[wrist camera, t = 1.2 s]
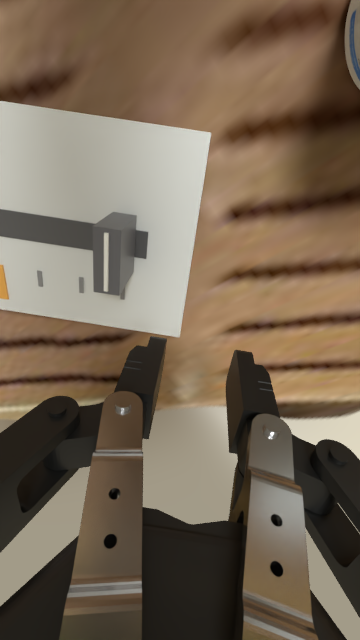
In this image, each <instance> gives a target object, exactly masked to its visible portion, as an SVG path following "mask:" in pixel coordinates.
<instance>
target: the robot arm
mask: <svg viewBox="0 0 360 640" xmlns="http://www.w3.org/2000/svg"><path fill="white" fill-rule="evenodd" d="M166 342H167V339H165V338H159V337H152V336H151V337H150V340H149V343H148V346H147V347H144V346H136V347H135V348H134V349H132V350H131V351H130V352H129V355H128V357H127V361H126V363H125V365H124V368H123V370H122V373H121V375H120V378H119V381H118V383H117V386H116V388H115V391H114V393H112V394H111V395H109V396H108V397H107V398H106V399H105V401H104V402H102V403H100V404H96V405H90V406H80V407H79V405H78V403H77V402H76V401H75V400H74V399H72V398H70V397H67V396H56V397H52V398H49V399H47V400H45V401H43V402H42V403H41V404H39V405H38V406H37V407H35V408H34V409H32V410H31V411H30V412H28V413H27V414H26V415H24V416H23V417H22V418H20V419H19V420H17V421H16V422H15V423H13V424H12V425H11V426H9V427H8V428H7V429H5V430H4V431H3V432H1V433H0V552H1V551H2V550H3V549H4V548H5V547H6V546H7V545H8V544H9V543H10V542H11V541H12V540H13V538H14V537H15V536H16V535H17V534H18V533H19V532H20V531H21V530H22V529H23V528H24V527H25V526H26V525H27V524H28V523H29V521H30V520H31V519H32V518H33V517H34V516H35V515H36V514H37V513H38V512H39V511H40V510H41V509H42V508H43V507H44V505H45V504H46V503H47V502H48V501H49V500H50V499H51V498H52V497H53V496H54V495H55V494H56V493H57V492H58V491H59V490H60V489H61V487H62V486H63V485H64V484H65V483H66V482H67V481H68V480H69V479H70V478H71V477H72V476H73V475H74V474H75V472H76V471H77V470H78V469H79V468H82V467H89V466H91V467H90V473H89V479H88V485H87V491H86V496H85V503H84V508H83V514H82V520H81V526H80V532H79V535H78V536H77V537H76V538H75V539H74V540H73V541H72V542H71V543H70V544H69V545H68V546H66V547H65V548H64V549H63V550H62V551H61V552H60V553H59V554H58V555H56V556H55V557H54V558H53V559H52V560H51V561H50V562H49V563H48V564H47V565H46V566H44V567H43V568H42V569H41V570H40V571H39V572H38V573H37V574H36V575H34V576H33V577H32V578H31V579H30V580H29V581H28V582H27V583H26V584H25V585H24V586H22V587H21V588H20V589H19V590H18V591H17V592H16V593H15V594H14V595H12V596H11V597H10V598H9V599H8V600H7V601H6V602H5V603H4V604H3V605H2V606H0V640H347V639H346V638H345V637H344V635H343V634H342V633H341V631H340V630H339V628H338V627H337V626H336V624H335V623H334V622H333V620H332V619H331V617H330V616H329V615H328V613H327V612H326V611H325V609H324V608H323V606H322V605H321V604H320V602H319V601H318V600H317V598H316V597H315V595H314V594H313V593H312V591H311V590H310V584H309V571H308V559H307V545H306V534H305V533H306V532H305V528H306V529H307V531H308V533H309V534H310V536H311V538H312V539H313V541H314V543H315V544H316V546H317V548H318V549H319V551H320V552H321V554H322V556H323V557H324V559H325V561H326V562H327V564H328V566H329V567H330V569H331V571H332V572H333V574H334V576H335V577H336V579H337V581H338V582H339V584H340V586H341V587H342V589H343V591H344V592H345V594H346V596H347V597H348V599H349V601H350V602H351V604H352V606H353V607H354V609H355V611H356V612H357V614H358V616H359V617H360V534H359V533H358V531H359V532H360V460H359V459H358V458H357V457H356V455H355V454H354V453H353V452H352V451H351V450H350V449H349V448H347V447H346V446H344V445H343V444H341V443H339V442H337V441H334V440H327V439H326V440H321V441H320V442H318V444H317V445H316V446H315V445H313V444H311V443H309V442H306V441H304V440H301V439H299V438H297V437H296V436H294V435H293V434H291V430H290V428H289V426H288V425H287V424H286V423H285V422H284V421H283V420H282V419H280V416H279V412H278V408H277V404H276V400H275V396H274V392H273V388H272V385H271V380H270V376H269V373H268V372H267V371H266V369H265V368H264V367H263V366H262V365H256V364H254V358H253V354H252V352H246V351H240V350H235V351H234V354H233V357H232V361H231V365H230V368H229V372H228V376H227V380H226V403H227V420H228V436H229V452H230V453H235V454H237V456H238V463H237V465H236V468H235V474H234V482H233V490H232V498H231V505H230V514H229V519H228V521H219V522H211V523H203V524H195V525H191V524H187V523H185V522H183V521H181V520H179V519H177V518H174V517H172V516H170V515H168V514H166V513H164V512H162V511H159V510H157V509H150V508H144V507H142V505H143V504H142V502H143V496H142V495H143V452H142V439H143V438H144V439H149V434H150V430H151V425H152V420H153V415H154V411H155V406H156V401H157V397H158V392H159V387H160V382H161V378H162V372H163V365H164V358H165V350H166ZM337 503H339V504H340V506H341V507H342V509H343V510H344V511H345V513H346V514H347V516H348V517H349V518H350V520H351V521H352V523H353V524H354V525H355V527H356V528H357V529H358V531H357V530H356V529H355V527H354V526H353V524H352V523H351V522H350V520H349V519H348V517H347V516H346V515H345V513H344V512H343V511H342V509H341V508H340V506H339V505H338V504H337Z"/></svg>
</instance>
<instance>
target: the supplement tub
mask: <svg viewBox="0 0 360 640" xmlns="http://www.w3.org/2000/svg"><path fill="white" fill-rule="evenodd" d="M345 56H346V61H347V66H348V69H349V72H350V75H351V77H352V79H353V81H354V83H355V84H356V86H357V87H358V88H359V90H360V0H351V2H350V6H349V10H348V14H347V19H346V26H345Z"/></svg>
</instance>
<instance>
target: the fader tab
mask: <svg viewBox="0 0 360 640" xmlns="http://www.w3.org/2000/svg"><path fill="white" fill-rule="evenodd" d="M136 221H137V215H131V214H124V213H118V212H112V213H110V214H109V215H107V216H106V217H105V218H103V219H102V220H100V221H99V222H98V223H96V224H95V225H93V288H94V292H97V293H104V294H110V295H116V296H120V294H121V292H122V291H123V289H124V287H125V286H126V284H127V282H128V281H129V279H130V277H131V276H132V274H133V272H134V257H135V239H136Z"/></svg>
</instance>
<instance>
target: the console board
mask: <svg viewBox="0 0 360 640" xmlns="http://www.w3.org/2000/svg"><path fill="white" fill-rule="evenodd" d="M210 138H211V133H210V132H203V131H197V130H190V129H183V128H177V127H170V126H163V125H157V124H150V123H143V122H137V121H130V120H124V119H117V118H110V117H104V116H97V115H90V114H84V113H77V112H71V111H64V110H57V109H51V108H44V107H37V106H31V105H24V104H17V103H11V102H4V101H0V309H3V310H9V311H15V312H22V313H28V314H34V315H41V316H47V317H53V318H60V319H66V320H72V321H78V322H85V323H91V324H97V325H104V326H110V327H116V328H123V329H129V330H135V331H142V332H148V333H154V334H161V335H167V336H173V337H180V331H181V325H182V318H183V312H184V306H185V299H186V293H187V286H188V280H189V273H190V267H191V261H192V254H193V248H194V241H195V235H196V228H197V222H198V216H199V209H200V203H201V196H202V190H203V183H204V177H205V171H206V164H207V158H208V151H209V145H210ZM112 212H118V213H124V214H131V215H137V221H136V239H135V257H134V272H133V274H132V276H131V277H130V279H129V281H128V282H127V284H126V286H125V287H124V289H123V291H122V292H121V294H120V296H116V295H110V294H104V293H97V292H94V288H93V225H95V224H96V223H98V222H99V221H100V220H102V219H103V218H105V217H106V216H107V215H109V214H110V213H112Z"/></svg>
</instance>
